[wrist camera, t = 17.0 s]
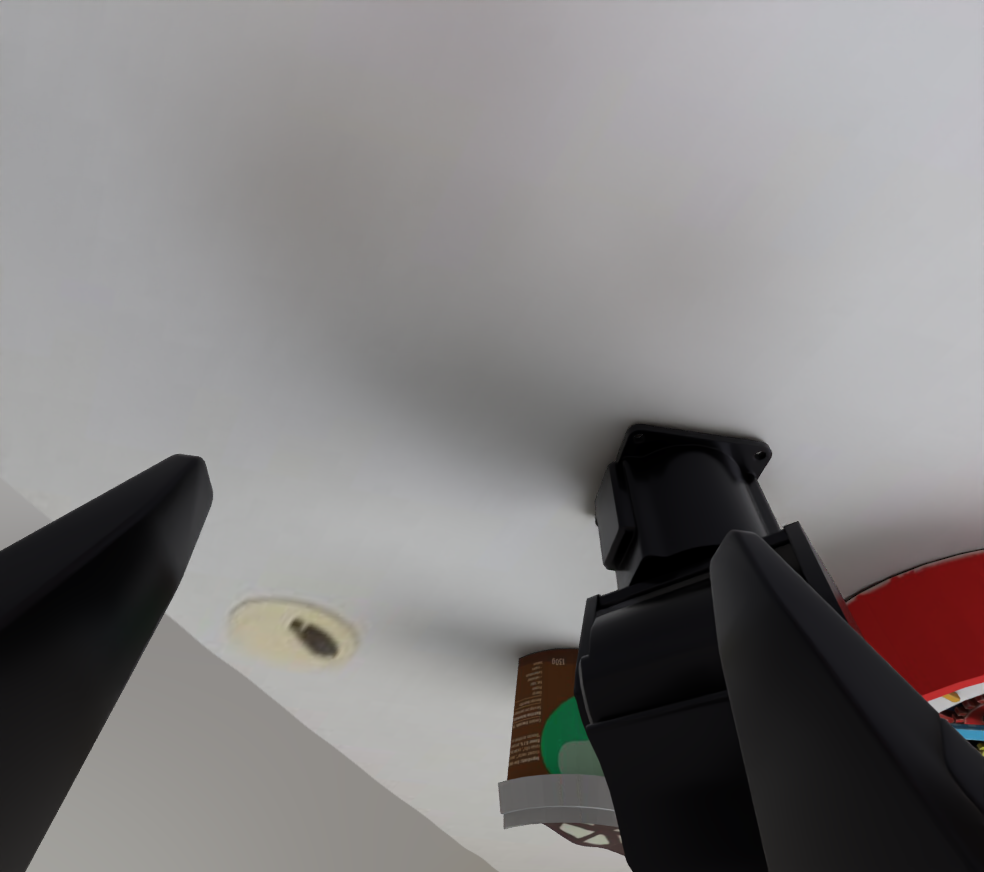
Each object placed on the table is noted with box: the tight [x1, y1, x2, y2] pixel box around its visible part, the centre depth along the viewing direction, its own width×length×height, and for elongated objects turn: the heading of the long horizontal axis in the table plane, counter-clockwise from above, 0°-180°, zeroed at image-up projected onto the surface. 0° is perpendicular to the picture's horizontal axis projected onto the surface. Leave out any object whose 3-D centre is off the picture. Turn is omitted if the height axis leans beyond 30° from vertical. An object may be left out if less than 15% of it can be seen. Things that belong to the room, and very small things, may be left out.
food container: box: [498, 649, 625, 856], centre depth 34 cm, size 12×6×10 cm, turn 47°
